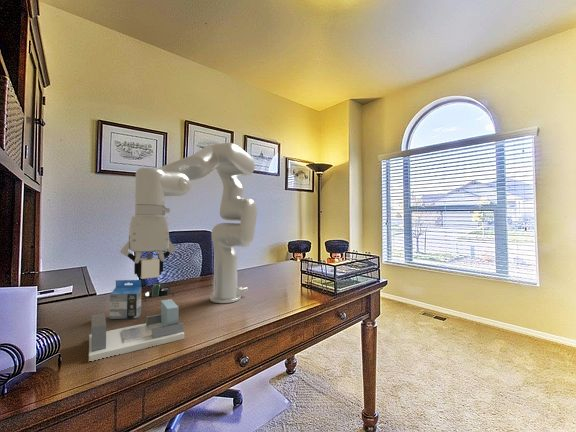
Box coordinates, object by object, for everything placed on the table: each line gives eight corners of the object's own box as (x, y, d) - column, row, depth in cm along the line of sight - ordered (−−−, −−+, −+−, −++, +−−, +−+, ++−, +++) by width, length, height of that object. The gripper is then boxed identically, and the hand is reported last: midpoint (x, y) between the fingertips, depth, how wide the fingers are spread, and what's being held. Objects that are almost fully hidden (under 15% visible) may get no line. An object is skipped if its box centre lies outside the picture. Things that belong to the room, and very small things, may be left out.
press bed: (173, 319, 89) (173, 300, 89) (183, 331, 79) (183, 311, 79) (91, 335, 76) (91, 314, 76) (91, 353, 67) (91, 328, 67)
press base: (172, 322, 90) (172, 317, 90) (184, 338, 78) (184, 333, 78) (89, 339, 77) (89, 334, 77) (88, 362, 66) (88, 355, 66)
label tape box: (108, 319, 92) (108, 282, 92) (115, 315, 96) (115, 279, 96) (136, 319, 93) (136, 282, 92) (141, 314, 97) (141, 279, 96)
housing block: (155, 274, 82) (156, 252, 82) (159, 276, 78) (159, 254, 78) (138, 275, 79) (139, 253, 79) (141, 278, 76) (141, 255, 76)
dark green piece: (149, 290, 128) (149, 278, 128) (183, 289, 131) (183, 277, 131) (137, 300, 113) (138, 287, 113) (176, 298, 116) (176, 285, 116)
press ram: (171, 320, 87) (171, 299, 87) (178, 330, 80) (178, 307, 80) (160, 322, 85) (161, 300, 85) (167, 332, 78) (167, 308, 78)
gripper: (177, 212, 87) (176, 270, 87) (114, 211, 77) (112, 276, 77) (184, 212, 81) (183, 274, 81) (116, 210, 71) (115, 281, 71)
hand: (148, 274), depth 79 cm, fingers closed on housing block, 4 cm apart
